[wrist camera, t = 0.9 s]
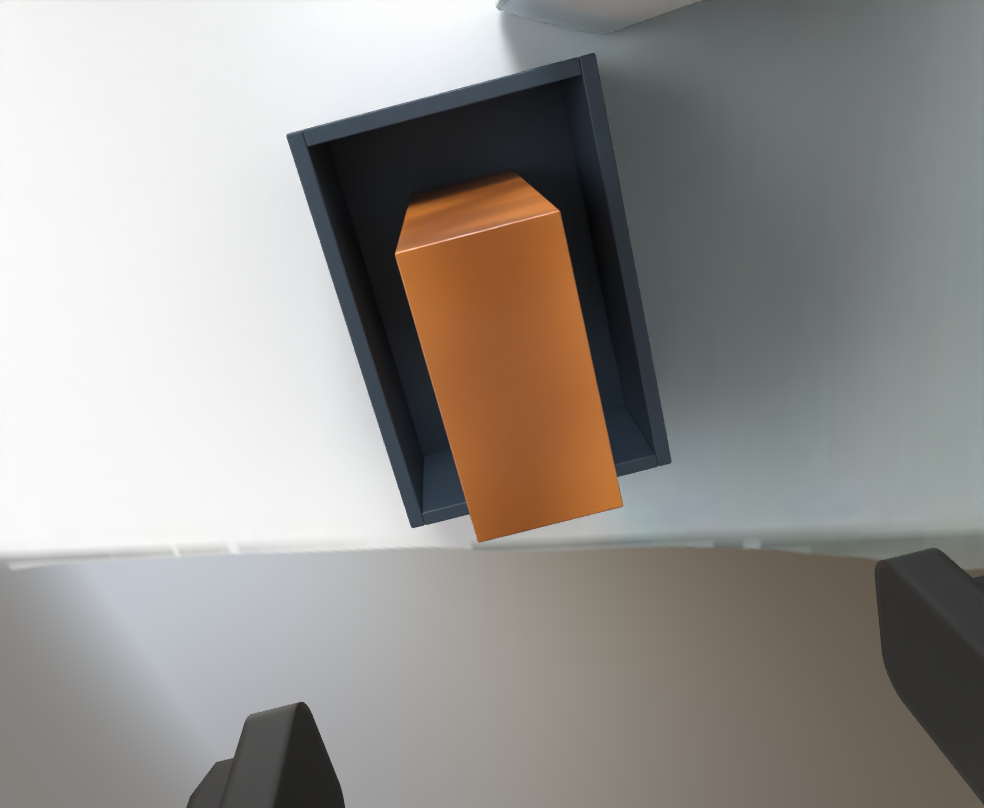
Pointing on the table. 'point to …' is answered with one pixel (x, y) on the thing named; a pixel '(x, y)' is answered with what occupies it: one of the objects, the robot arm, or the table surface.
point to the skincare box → (591, 12)
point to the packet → (507, 353)
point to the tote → (455, 158)
